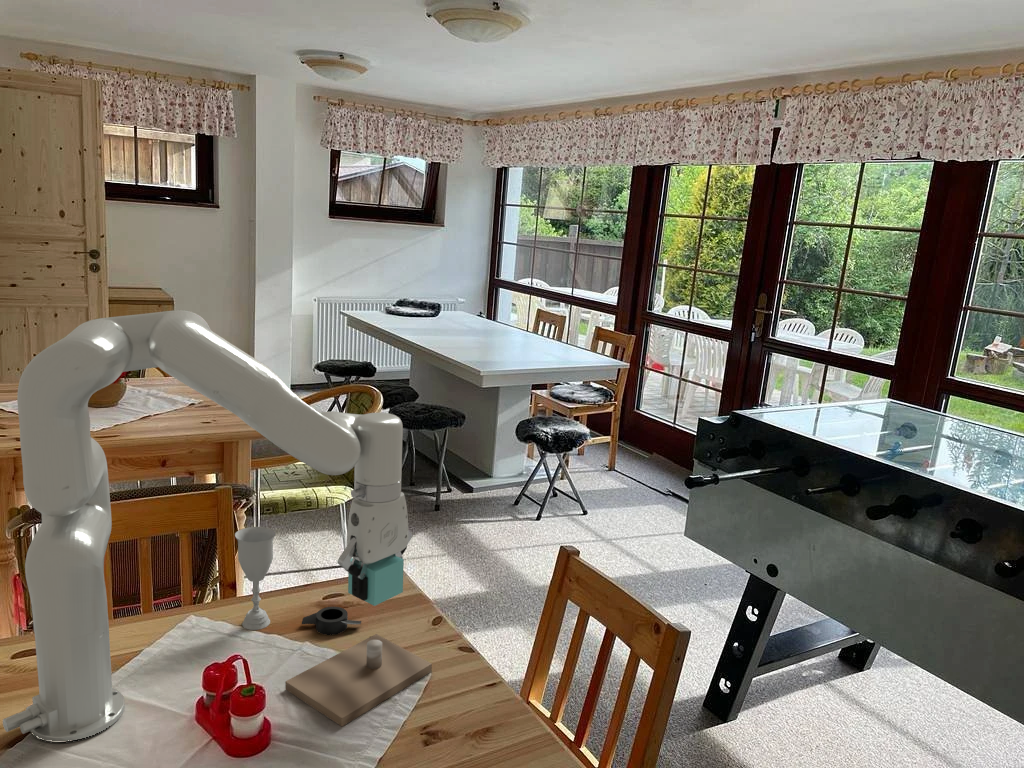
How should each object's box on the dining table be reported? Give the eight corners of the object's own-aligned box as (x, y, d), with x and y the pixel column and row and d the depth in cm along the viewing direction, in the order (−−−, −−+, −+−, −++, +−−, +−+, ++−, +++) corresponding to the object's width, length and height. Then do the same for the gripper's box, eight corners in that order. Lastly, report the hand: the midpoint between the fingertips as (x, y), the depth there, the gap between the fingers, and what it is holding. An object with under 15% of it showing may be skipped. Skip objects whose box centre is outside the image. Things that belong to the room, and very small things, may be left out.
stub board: (341, 726, 119) (342, 695, 118) (285, 689, 127) (285, 659, 126) (431, 671, 135) (432, 642, 134) (376, 641, 143) (376, 614, 142)
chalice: (283, 617, 149) (283, 530, 145) (263, 635, 143) (262, 544, 139) (249, 610, 151) (248, 524, 147) (228, 627, 144) (226, 537, 141)
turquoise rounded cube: (374, 605, 126) (375, 571, 125) (348, 592, 130) (348, 559, 128) (402, 592, 131) (403, 559, 130) (376, 579, 135) (377, 547, 133)
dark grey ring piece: (327, 611, 153) (327, 598, 152) (365, 628, 148) (365, 614, 147) (297, 628, 146) (297, 614, 146) (336, 645, 141) (336, 631, 141)
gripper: (352, 509, 117) (351, 617, 121) (431, 482, 131) (427, 579, 135) (320, 496, 122) (319, 600, 126) (399, 471, 135) (397, 566, 139)
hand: (375, 589), depth 130 cm, fingers closed on turquoise rounded cube, 6 cm apart
